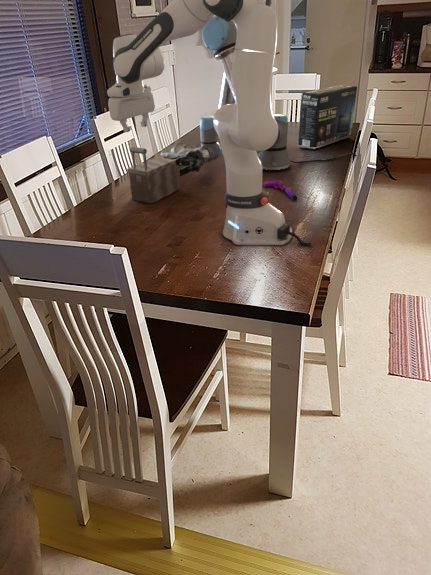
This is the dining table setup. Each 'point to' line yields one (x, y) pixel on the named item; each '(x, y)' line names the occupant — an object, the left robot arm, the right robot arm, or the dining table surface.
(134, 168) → the lid
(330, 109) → the router box
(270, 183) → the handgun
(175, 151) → the fossil
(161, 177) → the chest
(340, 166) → the dining table surface
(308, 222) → the dining table surface
